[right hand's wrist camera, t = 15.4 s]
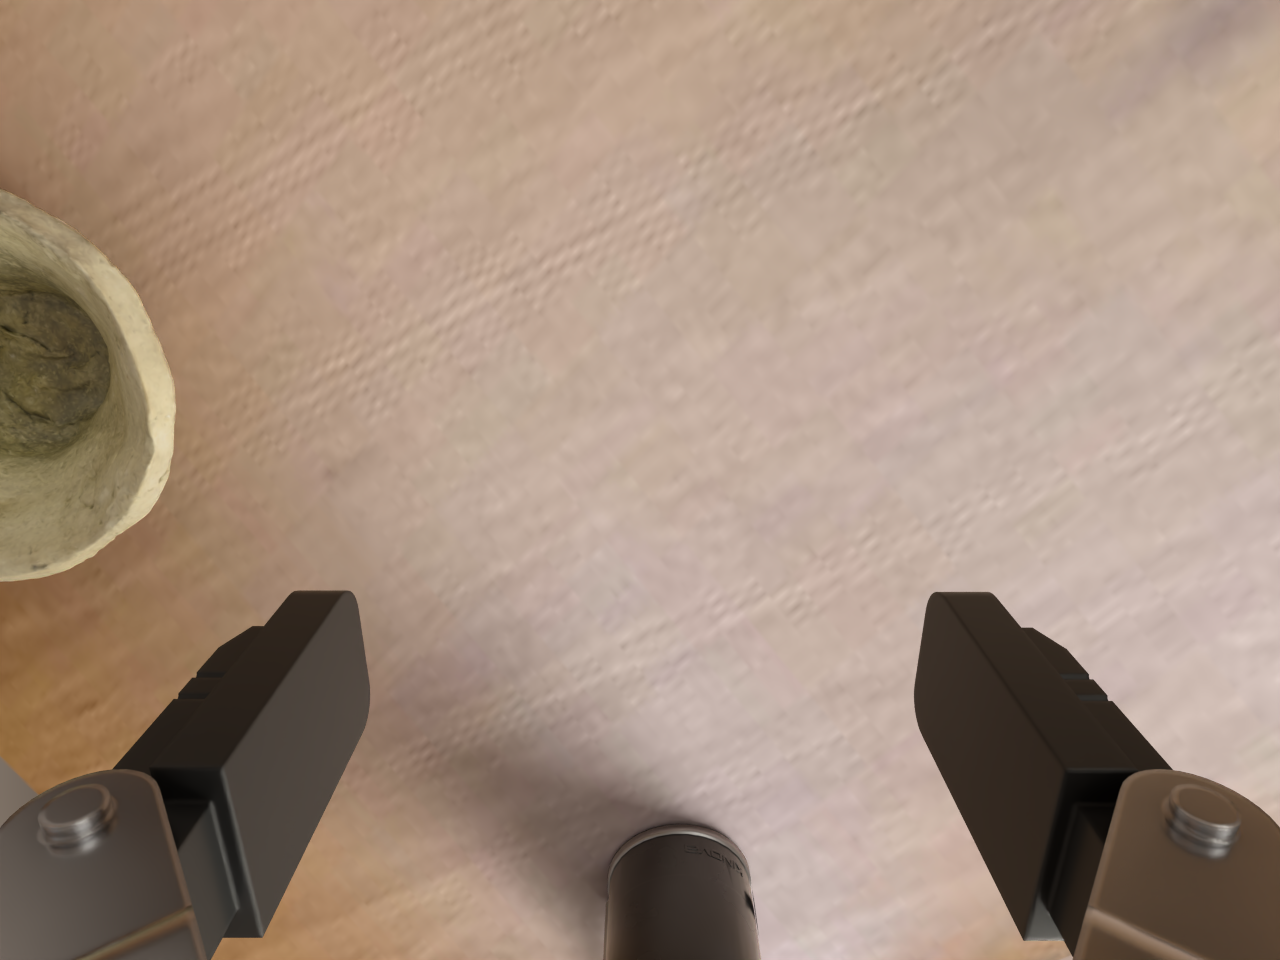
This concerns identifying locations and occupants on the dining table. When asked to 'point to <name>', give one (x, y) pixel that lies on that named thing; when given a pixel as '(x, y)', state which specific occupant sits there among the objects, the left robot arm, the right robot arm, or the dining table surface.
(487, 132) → the dining table surface
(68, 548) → the bowl
